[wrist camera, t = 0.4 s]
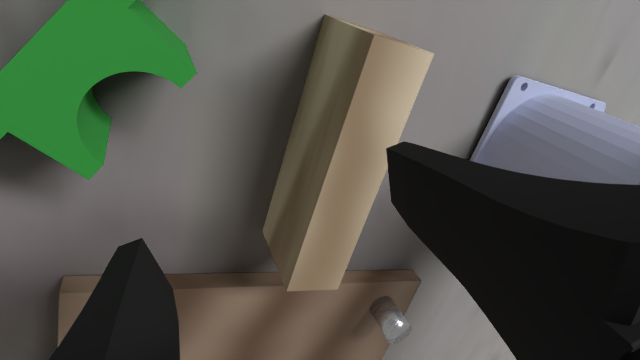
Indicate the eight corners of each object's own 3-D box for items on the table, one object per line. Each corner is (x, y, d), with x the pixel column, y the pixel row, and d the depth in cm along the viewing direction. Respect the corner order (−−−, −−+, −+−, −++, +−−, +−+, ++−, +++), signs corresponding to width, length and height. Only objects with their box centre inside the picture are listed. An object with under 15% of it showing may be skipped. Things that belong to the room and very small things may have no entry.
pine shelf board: (373, 29, 19) (434, 53, 15) (305, 231, 24) (337, 289, 20) (323, 13, 18) (374, 35, 14) (261, 229, 23) (286, 291, 19)
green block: (53, 175, 17) (29, 239, 14) (-43, 119, 15) (-104, 179, 11) (237, -8, 16) (263, 8, 13) (162, -97, 14) (168, -108, 10)
